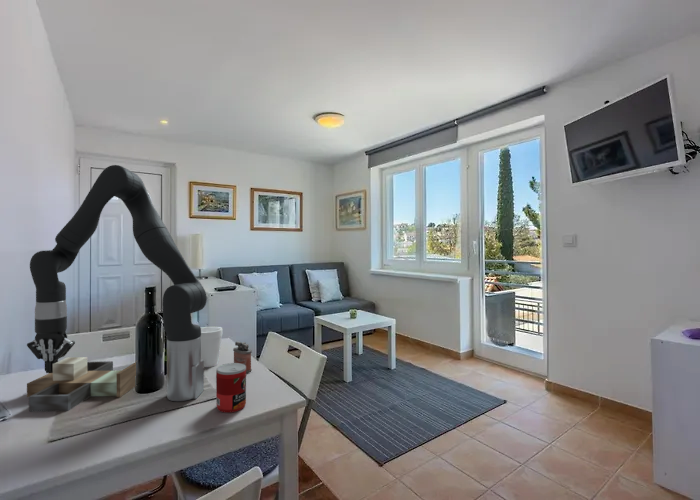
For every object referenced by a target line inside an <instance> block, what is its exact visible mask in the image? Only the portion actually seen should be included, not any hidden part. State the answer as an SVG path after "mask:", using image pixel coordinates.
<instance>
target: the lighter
mask: <svg viewBox="0 0 700 500" xmlns="http://www.w3.org/2000/svg"><path fill="white" fill-rule="evenodd" d="M234 344H235V346H236V347H233V349H232V350H233V363H241V364H244V365H245V366H246V374H250V373H249V372H251V371H253V369H252V353H253V352H252V350H251V349H250V348H249V344H248V343H247V342H246V341H243V342H241V341H235V343H234ZM251 373H252V372H251Z"/></svg>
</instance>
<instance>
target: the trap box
mask: <svg viewBox="0 0 700 500" xmlns="http://www.w3.org/2000/svg"><path fill="white" fill-rule="evenodd" d="M136 362H137V361H135V362H133V363H131V364H130V365H129V366H126V368H124V369H122V370H114V362H113V361H110V360H109V361H106V360H105V361H87V372H88V373H87V374H85V375H83V376H81V377H79V378H77V379H75V380H64V381H53V373H46V374H44V375H42V376H40V377H38V378H36V379H34V380H32V381H29V382H27V383H26V397H27V398H28V404H29V407H28V411H29V412H66V411H67V412H69V411H70V410H72V409H73V408H75V407H77V406H78V405H80V404H81V403H83V402H84V401H86V400H88V399H90V397H116V398H122V396H124V395H126V394H127V393H129V391H131V390H132V389H134V388H135V387H136V386H135V376H136Z"/></svg>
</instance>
